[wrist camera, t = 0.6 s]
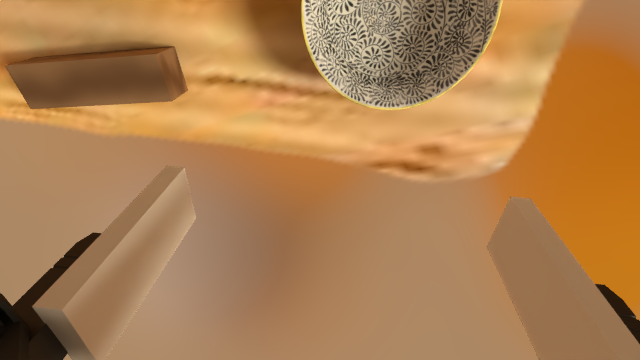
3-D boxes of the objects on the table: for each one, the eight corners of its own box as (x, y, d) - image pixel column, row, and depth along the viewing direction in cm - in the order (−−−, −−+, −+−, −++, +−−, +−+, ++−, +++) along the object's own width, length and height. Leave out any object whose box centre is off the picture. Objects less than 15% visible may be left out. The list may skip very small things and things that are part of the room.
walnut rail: (35, 57, 39) (4, 65, 35) (174, 46, 36) (155, 54, 33) (57, 97, 41) (30, 109, 38) (187, 90, 39) (172, 101, 36)
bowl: (500, -88, 28) (543, -105, 21) (446, 93, 36) (465, 119, 30) (316, -102, 28) (305, -124, 22) (307, 79, 37) (297, 101, 31)
